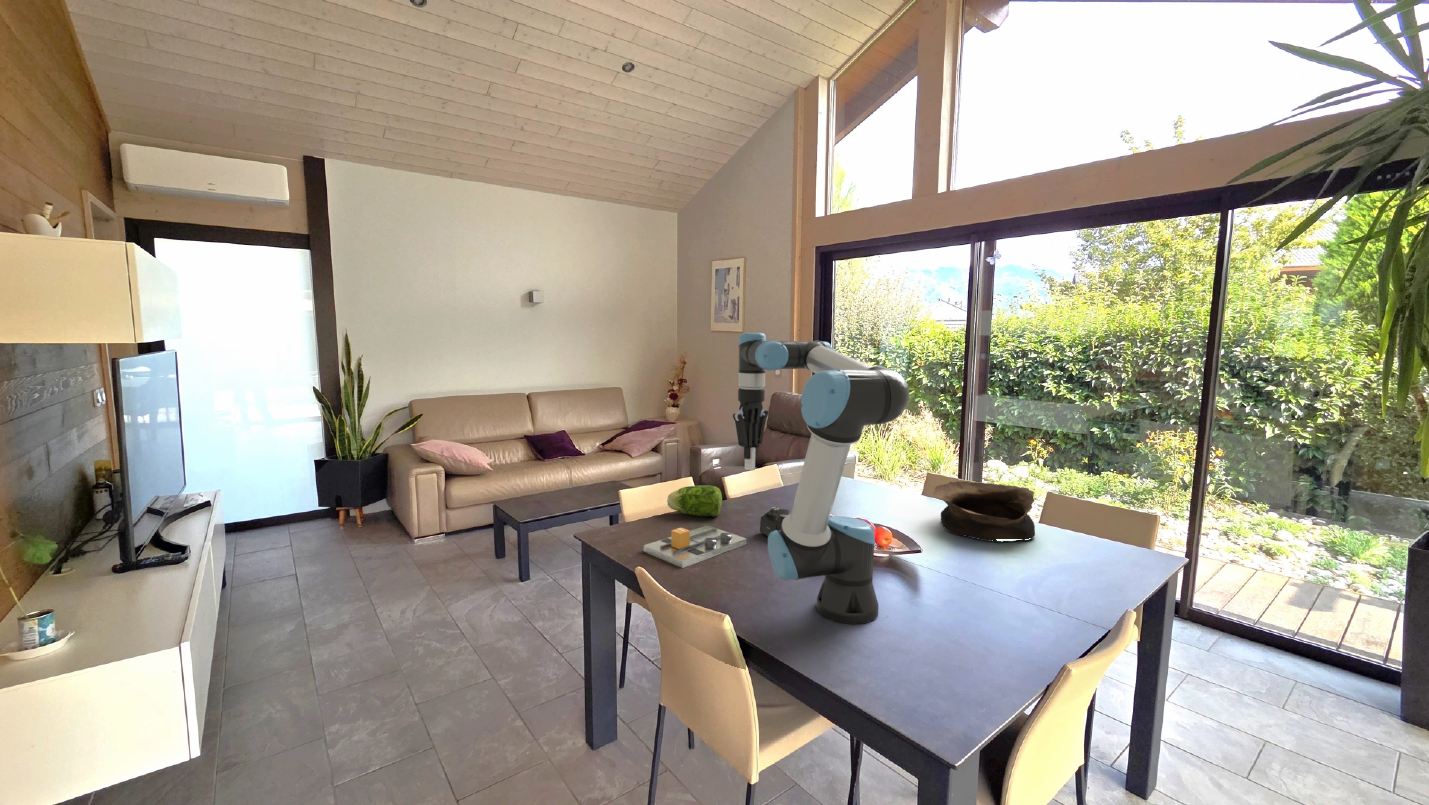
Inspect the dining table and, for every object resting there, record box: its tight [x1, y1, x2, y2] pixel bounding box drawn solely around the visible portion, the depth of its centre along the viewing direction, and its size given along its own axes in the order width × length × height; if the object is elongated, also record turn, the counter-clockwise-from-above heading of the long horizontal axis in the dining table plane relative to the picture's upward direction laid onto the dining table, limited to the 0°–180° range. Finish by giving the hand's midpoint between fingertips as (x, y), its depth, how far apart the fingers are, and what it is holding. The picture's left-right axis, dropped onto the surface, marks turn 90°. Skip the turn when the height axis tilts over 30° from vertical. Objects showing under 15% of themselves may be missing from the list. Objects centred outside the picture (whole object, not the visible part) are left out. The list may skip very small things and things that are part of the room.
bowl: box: [933, 481, 1036, 542], centre depth 214 cm, size 34×33×15 cm
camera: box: [759, 506, 790, 537], centre depth 204 cm, size 13×10×10 cm
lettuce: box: [666, 484, 723, 517], centre depth 227 cm, size 12×21×11 cm, turn 86°
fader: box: [670, 527, 691, 549], centre depth 188 cm, size 4×4×5 cm
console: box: [643, 524, 748, 569], centre depth 193 cm, size 18×28×4 cm, turn 135°
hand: (749, 469), depth 175 cm, fingers closed
